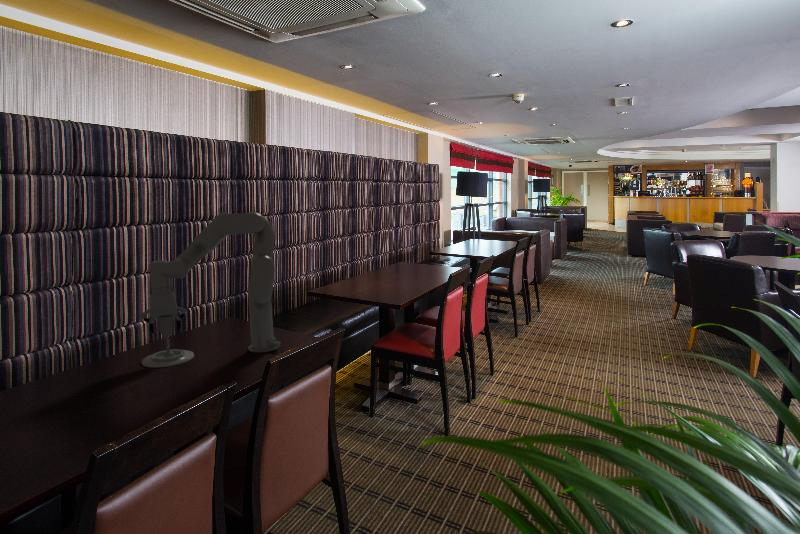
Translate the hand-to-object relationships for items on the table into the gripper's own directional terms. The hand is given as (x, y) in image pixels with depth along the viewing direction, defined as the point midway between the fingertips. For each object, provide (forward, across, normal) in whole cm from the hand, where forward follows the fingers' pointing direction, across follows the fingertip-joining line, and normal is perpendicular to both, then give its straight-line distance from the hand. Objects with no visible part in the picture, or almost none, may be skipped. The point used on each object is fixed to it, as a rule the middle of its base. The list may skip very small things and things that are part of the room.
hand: (165, 331), depth 209 cm
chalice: (+12, 0, 0) cm, 12 cm away
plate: (+12, 0, 0) cm, 12 cm away
